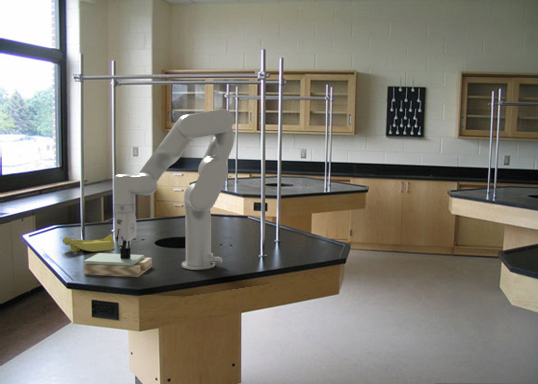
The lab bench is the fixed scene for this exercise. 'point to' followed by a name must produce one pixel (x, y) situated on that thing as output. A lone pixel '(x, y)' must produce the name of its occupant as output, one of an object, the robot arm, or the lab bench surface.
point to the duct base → (119, 269)
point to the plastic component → (90, 244)
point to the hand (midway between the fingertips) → (125, 258)
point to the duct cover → (113, 259)
